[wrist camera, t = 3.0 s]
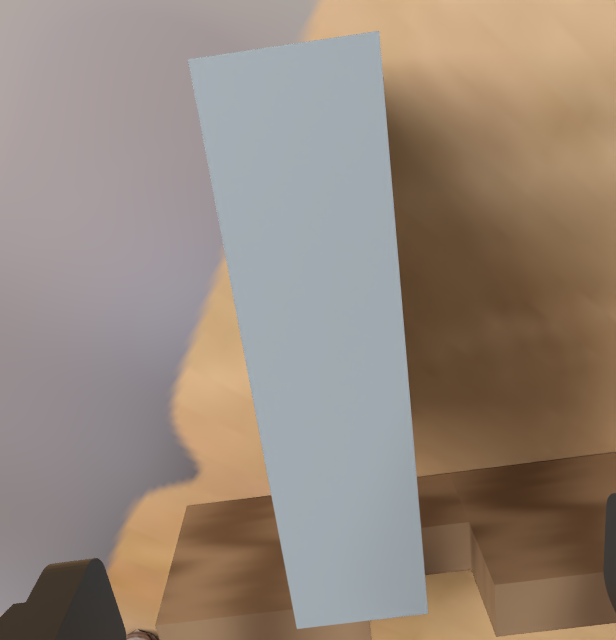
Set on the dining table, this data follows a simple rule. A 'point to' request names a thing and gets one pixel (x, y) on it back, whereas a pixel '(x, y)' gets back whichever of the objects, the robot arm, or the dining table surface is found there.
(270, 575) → the walnut slotted plate
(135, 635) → the flask
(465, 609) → the dining table surface
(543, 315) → the dining table surface
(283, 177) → the tall grey upright block
